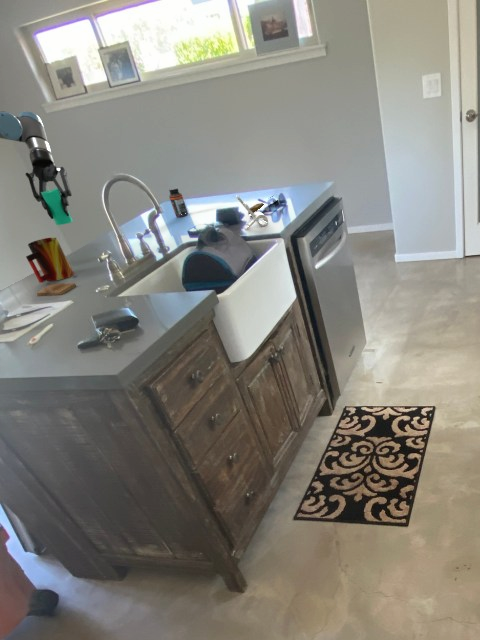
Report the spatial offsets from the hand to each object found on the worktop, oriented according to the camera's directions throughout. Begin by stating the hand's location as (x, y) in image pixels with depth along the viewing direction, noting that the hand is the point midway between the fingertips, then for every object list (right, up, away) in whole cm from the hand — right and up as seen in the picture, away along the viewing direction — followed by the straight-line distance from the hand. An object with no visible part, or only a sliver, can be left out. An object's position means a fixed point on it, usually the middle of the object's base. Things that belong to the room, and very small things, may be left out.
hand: (58, 214), depth 189 cm
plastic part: (+66, +10, +26) cm, 72 cm away
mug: (0, -23, +1) cm, 23 cm away
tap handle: (+65, +31, +49) cm, 86 cm away
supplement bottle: (+22, +34, +60) cm, 73 cm away
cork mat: (+7, -33, -11) cm, 35 cm away
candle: (-1, 0, +5) cm, 5 cm away
